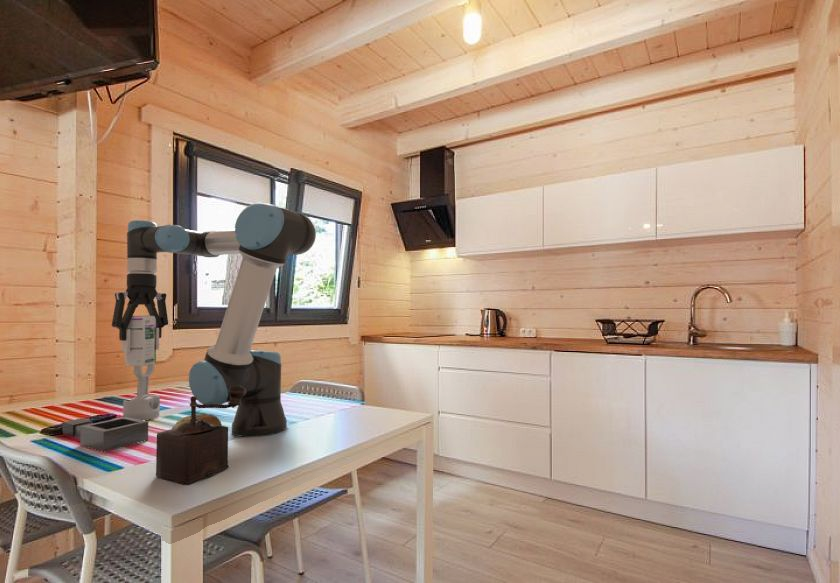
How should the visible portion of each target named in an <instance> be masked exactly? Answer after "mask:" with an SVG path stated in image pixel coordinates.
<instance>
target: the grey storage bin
mask: <svg viewBox="0 0 840 583" xmlns="http://www.w3.org/2000/svg"><path fill="white" fill-rule="evenodd" d="M62 431H63V434H62V435H67V436H70V437H77V438H79V439H80V444H79V445H81V446H80V447H84V446H85V447H84V448H87V447H89V448H88V449H91V448H93V449H92V450H94V449H96V450H95V451H97V450H99V452H101V451H102V453H105V452H104V451H106V452H109V451H114V450H117V449H121V448H124V447H127V446H126V445H128V446H131V445H130V444H132V445H134V444H133V443H136V444H138V443H137V442H140V443H142V442H141V441H143V442H145V441H144V440H147V441H149V420H147V421H143V420H139V419H134V418H129V417H123V416H122V417H119V418H113V419H109V420H105V421H104V420H103V421H98V422H94V423H93V420H91V419H86V418H77V419H72V420H67V421H63V422H62ZM62 431H61V432H62ZM123 446H124V447H123ZM120 447H121V448H120ZM108 450H109V451H108Z"/></svg>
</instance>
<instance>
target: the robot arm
mask: <svg viewBox="0 0 840 583" xmlns="http://www.w3.org/2000/svg"><path fill="white" fill-rule="evenodd" d="M316 232H317V231H316V228H315V224H314V223H313V221H312V220H311V219H310V218H309V217H308V216H307V215H305V214H303V213H301V212H297V211H294V210H291V209H287V208H285V207H281V206H278V205H275V204H271V203H264V202H255V203H252V204H250V205H249V206H246V207H245V208H244V209H242V210H241V212H240V214H238V216H237V218H236V220H235V224H234V228H232V229H231V228H230V229H221V230H220V229H219V230H212V231H211V230H210V231H197V230H192V229H191V230H190V229H186V228H184V227H183V226H181V225H177V224H166V225H161V226H160V225H159V226H158V225H157V223H156V222H153V221H149V220H142V219H140V220H131V221H129V222H128V224H127V232H126V241H127V242H126V245H127V246H126V250H127V251H126V255H127V256H126V272H128V273H127V274H126V290H125V291H123V292H115V293H114V298H115V304H114V310H113V316H112V322H111V327H112V328H116V329H118V330H119V332H118V333H119V334H118V335H119V336H118V337H119V339H118V340H119V341H120V342H121V341H122V342H121V343H122V344H121V348H122V349H121V352H122V353H125V352H130V329H127V328H128V325H129V323H130V321H131V318H132V316H134V313H135V311H136V309H137V308H138V307H139V306H140V305H141V306H143V305H144V307H145V308H146V309H147V312H148V316H155V319H156V351H158V350H160V339H161V338H162V328H164V327H166V326H168V325H169V318H168V313H167V312H168V310H167V304H166V299H167V293H161V292H158V291H157V289H156V288H157V282H158V281H157V280H158V279H157V277H158V276H157V275H156V273H157V272H158V271H157V270H158V267H157V266H158V265H157V264H158V263H157V262H158V259H157V258H158V257H157V255H158V253H171V254H180V255H181V254H182V255H188V256H189V255H191V256H198V257H204V258H218V257H219V256H223V255H225V256H226V255H239V254H240V256H241V261H240V262H241V263H240V266H239V267H238V268H239V269H238V272H237V275H236V279H235V282H234V285H233V288H232V291H231V294H230V297H229V300H228V304H227V306H226V310H225V313H224V316H223V320H222V323H221V326H220V329H219V333H218V335H217V339H216V341H215V344H213V345H210V346H209V347H208V348H207V350H206V353H205V356H204V359H203V360H199V361H197V362H196V363H194V364H193V365H192V366H191V368H190V369H189V372H188V384H189V388H190V391H191V394H192V396H195V397H196V398H197V400H196V401H198V403H200V404H201V405H203V404H220V405H224V404H225V403H228V402H229V401H230V395H229V393H228V389H229V388H230V387H231V386H233V385H239V386H243V387H244V388H245V389H246V394H245V395H244V396H243V397H242V399H241V400H240V401H241V405H240V406H237V409H236V411H235V415H234V418H233V421H232V423H231V433H232V434H233V435H234V436H238V437H262V436H269V435H274V434H278V433H280V432H283V431H285V430H286V429H287V427H288V424H287V421H288V420H287V417H286V416H285V411H284V407H283V405H282V400H281V398H282V397H281V396H282V394H281V393H282V391H281V390H282V359H281V357H282V356H281V354H280V353H279V352H278V351H269V350H268V351H267V350H266V351H265V350H251V348H252V345H253V342H254V339H255V337H256V334H257V330H258V327H259V325H260V321H261V318H262V314H263V312H264V308H265V305H266V302H267V299H268V296H269V295H270V294H269V293H270V290H271V287H272V284H273V282H274V281H273V280H274V278H275V275H276V272H277V269H279V268H280V267H282V266H284V265H285V264H286V260H287V258H288V256H289V255H292V256H293V255H294V256H296V255H302V254H305V253H306V252H309V250H310V249H311V248H312V247H313V246H314V244H315V241H316V236H317V235H316ZM127 298H128V299H129V301H128V303H127V305H126V306H127V307H126V309H125V311H124V308H125V303H126V299H127ZM154 299H156V303H155V300H154ZM156 305H157V308H156Z"/></svg>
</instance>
